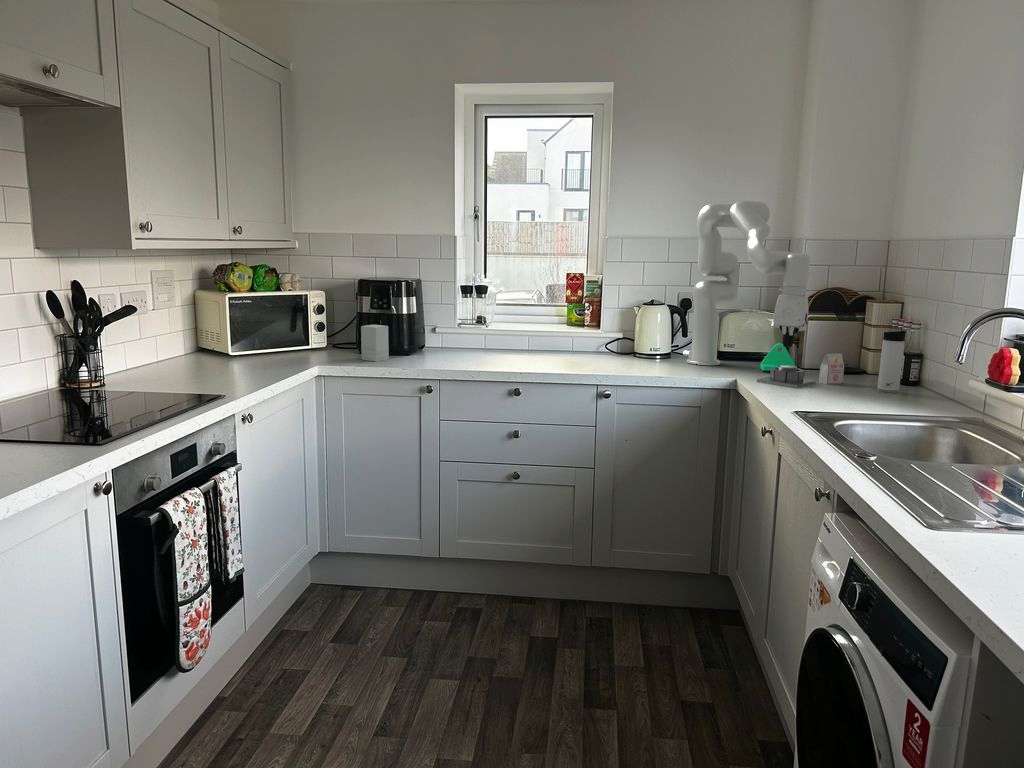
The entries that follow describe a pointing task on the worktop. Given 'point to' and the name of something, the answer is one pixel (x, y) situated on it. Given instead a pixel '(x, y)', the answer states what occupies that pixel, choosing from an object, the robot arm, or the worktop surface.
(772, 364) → the green triangle piece
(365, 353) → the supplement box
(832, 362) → the milk carton
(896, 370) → the travel mug
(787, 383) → the grey square base
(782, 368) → the dark grey rounded block
